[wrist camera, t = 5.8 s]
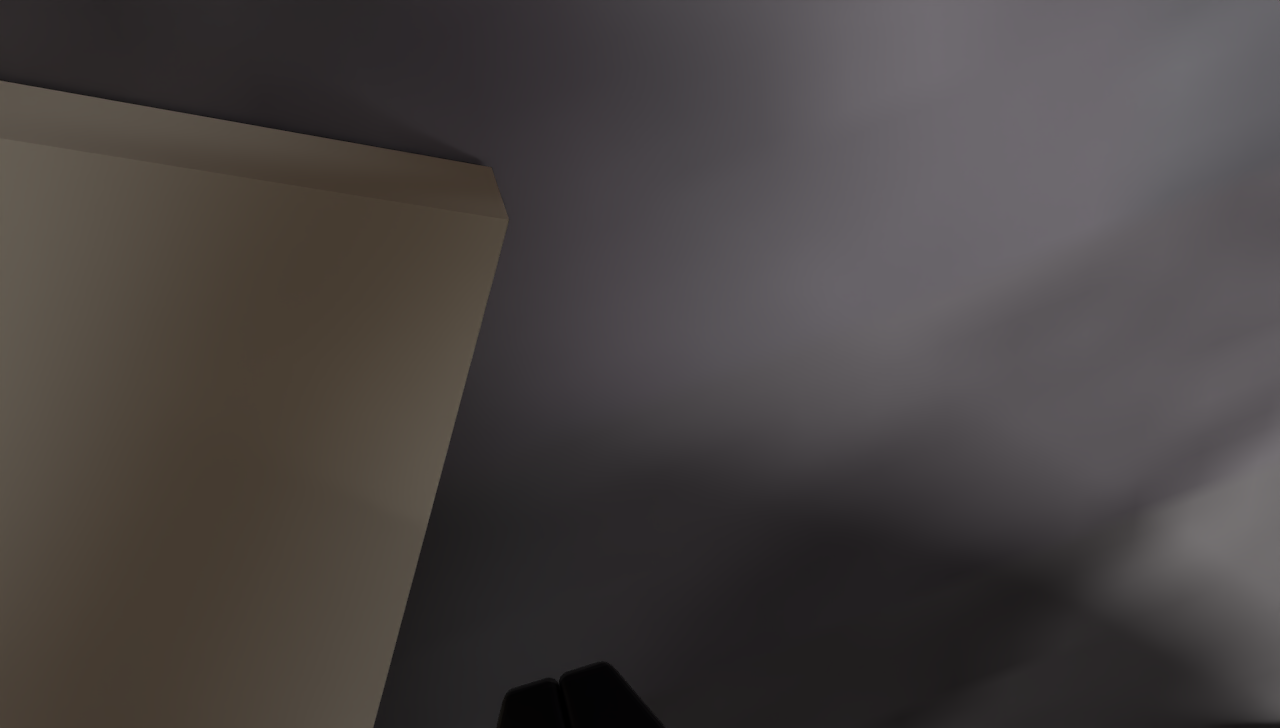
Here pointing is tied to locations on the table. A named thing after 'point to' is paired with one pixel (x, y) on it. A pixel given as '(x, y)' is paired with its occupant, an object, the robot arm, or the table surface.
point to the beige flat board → (220, 409)
